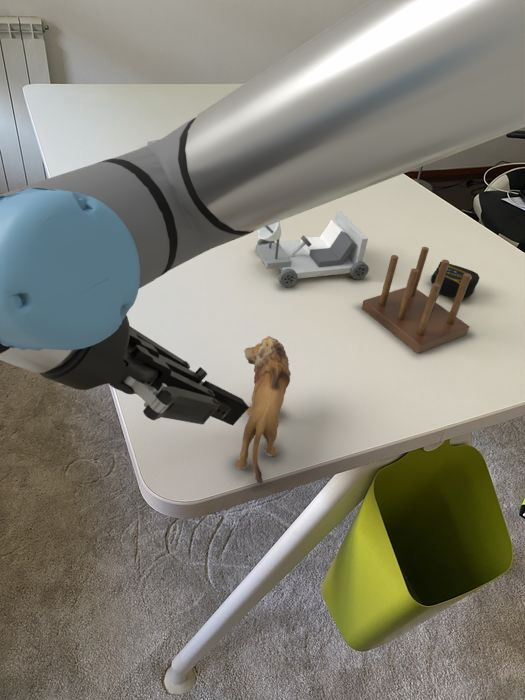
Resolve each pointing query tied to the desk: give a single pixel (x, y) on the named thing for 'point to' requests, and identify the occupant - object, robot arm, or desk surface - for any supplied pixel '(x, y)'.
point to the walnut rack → (418, 309)
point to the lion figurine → (265, 399)
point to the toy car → (315, 252)
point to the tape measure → (455, 281)
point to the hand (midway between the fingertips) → (237, 412)
